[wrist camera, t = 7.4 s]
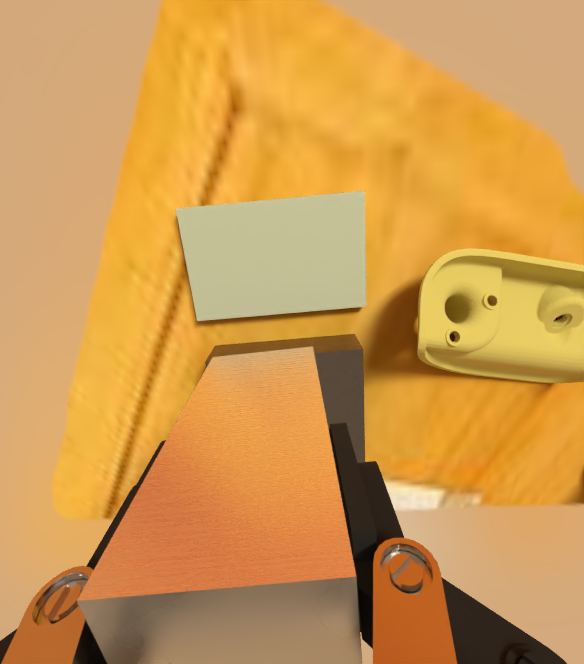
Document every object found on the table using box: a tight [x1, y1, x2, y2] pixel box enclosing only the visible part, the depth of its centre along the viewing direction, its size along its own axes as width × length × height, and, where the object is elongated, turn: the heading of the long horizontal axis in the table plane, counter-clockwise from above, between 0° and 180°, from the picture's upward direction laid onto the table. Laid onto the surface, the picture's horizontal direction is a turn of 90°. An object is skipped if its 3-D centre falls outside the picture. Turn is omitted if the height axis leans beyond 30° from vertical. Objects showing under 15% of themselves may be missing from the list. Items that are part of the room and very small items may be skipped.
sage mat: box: [176, 191, 366, 321], centre depth 29 cm, size 16×10×1 cm, turn 95°
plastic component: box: [417, 249, 584, 383], centre depth 30 cm, size 20×7×10 cm
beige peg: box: [77, 346, 362, 664], centre depth 11 cm, size 5×5×10 cm
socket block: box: [205, 334, 365, 463], centre depth 33 cm, size 14×14×4 cm
